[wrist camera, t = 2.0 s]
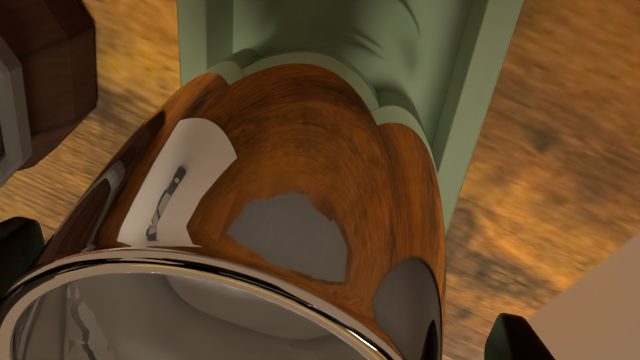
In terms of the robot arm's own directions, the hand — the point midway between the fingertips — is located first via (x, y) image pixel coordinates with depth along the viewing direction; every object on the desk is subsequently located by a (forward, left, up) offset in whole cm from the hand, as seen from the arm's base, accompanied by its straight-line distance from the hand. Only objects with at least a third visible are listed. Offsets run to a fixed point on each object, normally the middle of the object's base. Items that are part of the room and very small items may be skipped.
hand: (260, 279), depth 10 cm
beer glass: (0, 0, -12) cm, 12 cm away
